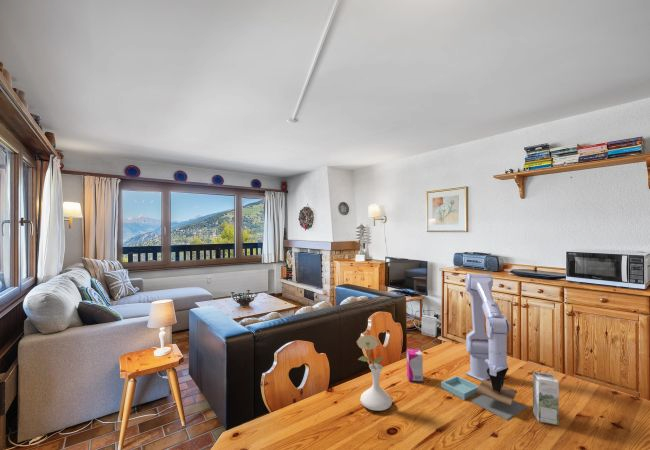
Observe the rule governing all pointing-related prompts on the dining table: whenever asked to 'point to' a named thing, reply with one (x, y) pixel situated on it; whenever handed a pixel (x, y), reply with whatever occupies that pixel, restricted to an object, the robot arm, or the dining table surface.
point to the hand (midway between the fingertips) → (497, 388)
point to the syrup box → (546, 398)
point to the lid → (496, 392)
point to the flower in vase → (374, 395)
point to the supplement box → (414, 365)
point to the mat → (499, 406)
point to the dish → (459, 387)
